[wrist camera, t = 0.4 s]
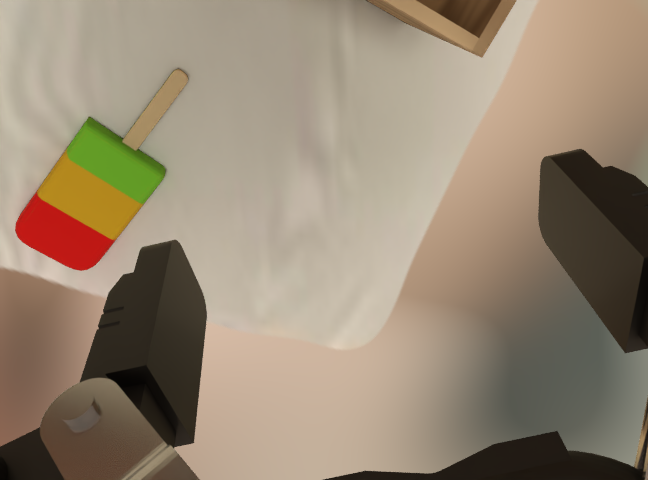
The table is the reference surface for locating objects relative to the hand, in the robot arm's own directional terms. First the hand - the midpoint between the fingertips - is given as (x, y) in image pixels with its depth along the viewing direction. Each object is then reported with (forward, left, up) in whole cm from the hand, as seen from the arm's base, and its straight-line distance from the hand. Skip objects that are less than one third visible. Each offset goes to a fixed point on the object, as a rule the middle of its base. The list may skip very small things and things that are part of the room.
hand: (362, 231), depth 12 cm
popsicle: (+6, -11, -25) cm, 27 cm away
